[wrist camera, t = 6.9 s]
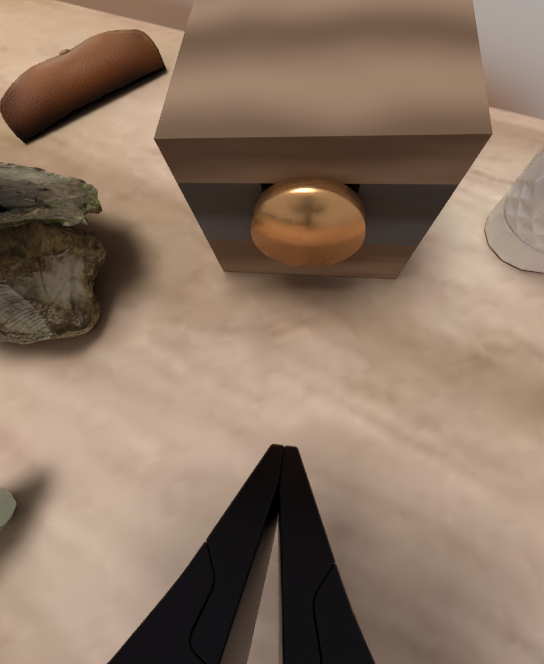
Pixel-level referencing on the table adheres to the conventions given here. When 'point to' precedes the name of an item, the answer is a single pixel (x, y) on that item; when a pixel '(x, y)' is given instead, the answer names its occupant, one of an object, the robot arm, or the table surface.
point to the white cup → (521, 220)
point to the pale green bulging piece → (6, 507)
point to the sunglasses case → (77, 79)
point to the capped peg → (308, 222)
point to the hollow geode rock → (46, 255)
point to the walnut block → (325, 117)
